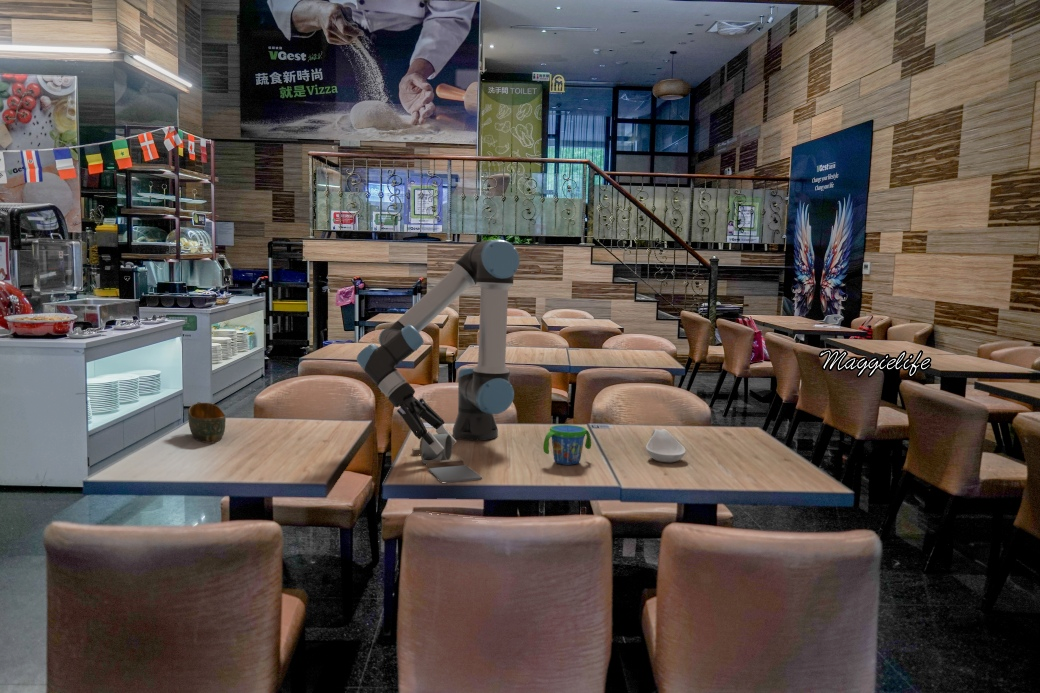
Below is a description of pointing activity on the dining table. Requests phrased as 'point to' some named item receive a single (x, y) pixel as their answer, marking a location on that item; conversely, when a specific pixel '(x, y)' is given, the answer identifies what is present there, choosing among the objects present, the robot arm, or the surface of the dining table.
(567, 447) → the snack cup
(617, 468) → the dining table surface
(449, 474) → the slate mat
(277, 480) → the dining table surface
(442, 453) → the ceramic mug
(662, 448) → the spoon rest
